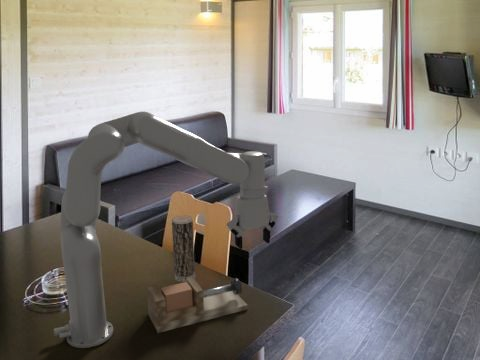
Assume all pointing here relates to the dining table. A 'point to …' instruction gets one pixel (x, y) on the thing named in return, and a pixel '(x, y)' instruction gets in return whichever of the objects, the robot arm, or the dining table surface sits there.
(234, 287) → the shaft
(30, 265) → the dining table surface
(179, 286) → the rectangular block
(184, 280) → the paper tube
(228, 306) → the stand
